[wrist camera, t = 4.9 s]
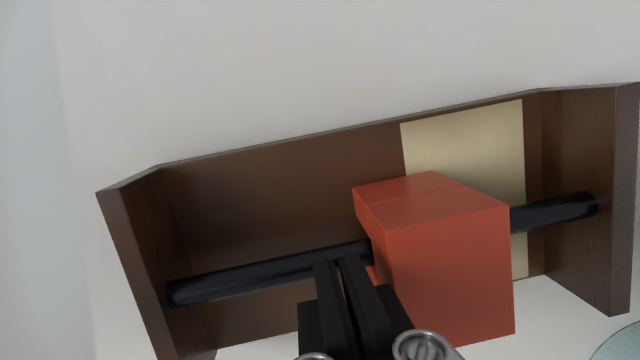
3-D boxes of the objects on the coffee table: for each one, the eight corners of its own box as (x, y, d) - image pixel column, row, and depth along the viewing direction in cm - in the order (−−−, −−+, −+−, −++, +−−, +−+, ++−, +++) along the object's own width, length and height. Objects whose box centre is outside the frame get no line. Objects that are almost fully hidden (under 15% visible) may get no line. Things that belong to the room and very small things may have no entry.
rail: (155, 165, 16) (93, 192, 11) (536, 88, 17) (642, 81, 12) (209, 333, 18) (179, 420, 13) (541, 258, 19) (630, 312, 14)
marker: (350, 186, 15) (384, 231, 10) (432, 169, 15) (509, 204, 10) (366, 276, 16) (404, 361, 11) (442, 259, 16) (516, 334, 11)
